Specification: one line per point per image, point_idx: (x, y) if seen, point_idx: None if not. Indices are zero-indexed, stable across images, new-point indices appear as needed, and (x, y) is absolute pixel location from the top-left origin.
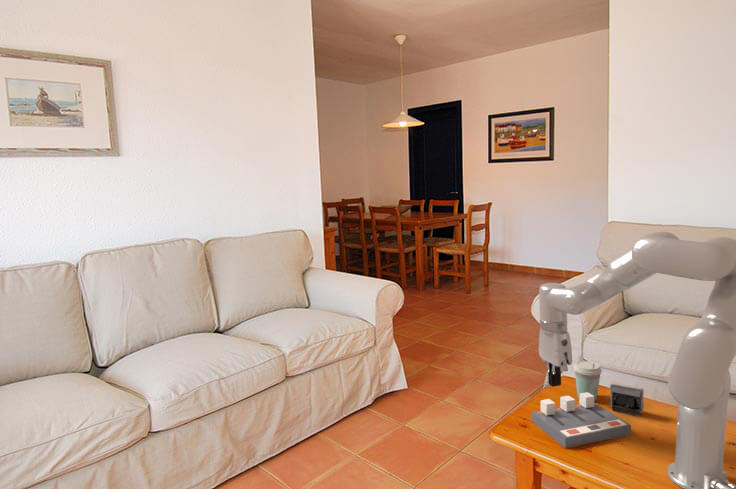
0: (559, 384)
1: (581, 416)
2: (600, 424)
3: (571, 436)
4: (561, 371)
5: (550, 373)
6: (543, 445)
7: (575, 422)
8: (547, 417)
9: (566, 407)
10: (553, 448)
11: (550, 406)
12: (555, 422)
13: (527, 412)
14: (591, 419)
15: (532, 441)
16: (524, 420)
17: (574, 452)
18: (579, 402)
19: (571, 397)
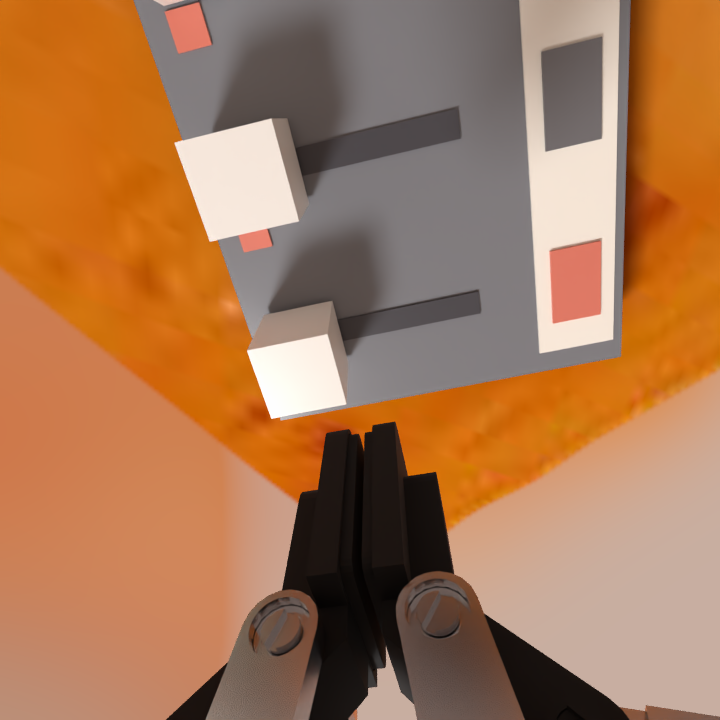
0: (400, 444)
1: (379, 104)
2: (544, 1)
3: (618, 314)
4: (539, 658)
5: (385, 666)
6: (534, 417)
7: (460, 202)
8: (362, 358)
9: (304, 210)
10: (573, 384)
11: (340, 364)
12: (433, 337)
13: (185, 375)
14: (442, 37)
15: (487, 450)
16: (280, 419)
17: (642, 300)
18: (160, 2)
19: (221, 134)
